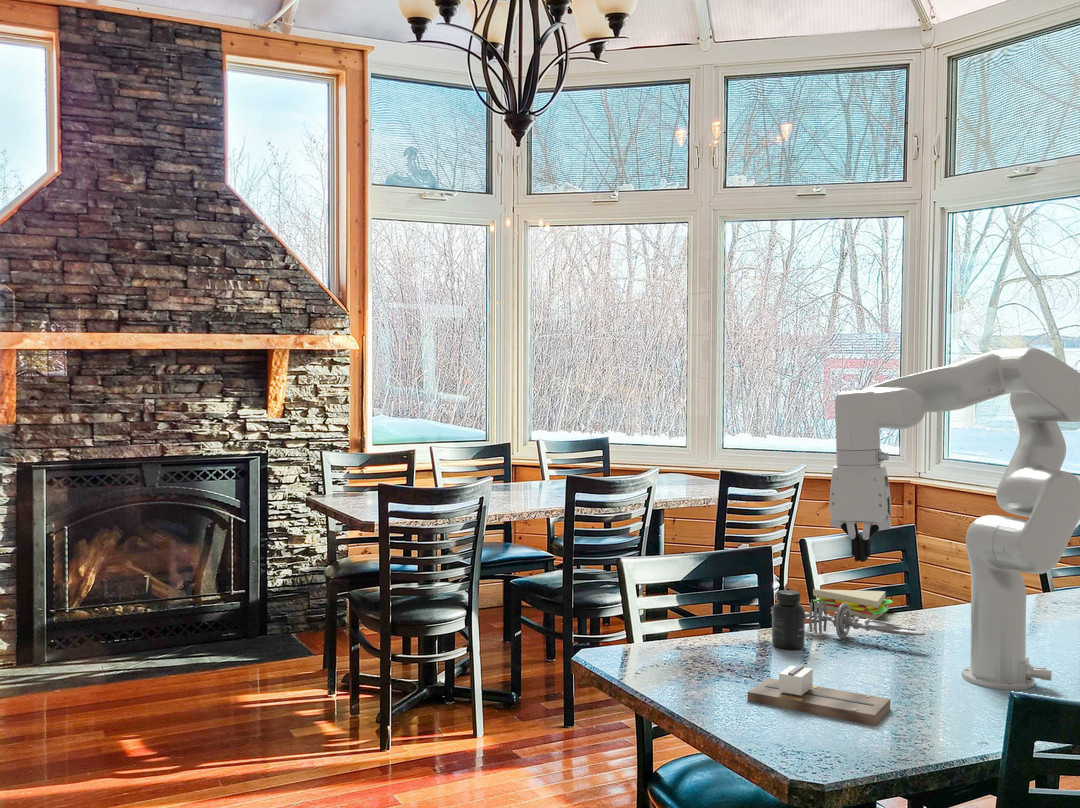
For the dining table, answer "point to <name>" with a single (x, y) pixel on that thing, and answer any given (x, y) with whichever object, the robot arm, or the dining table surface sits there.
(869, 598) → the sandwich
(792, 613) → the supplement bottle
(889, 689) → the dining table surface
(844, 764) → the dining table surface
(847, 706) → the fader track
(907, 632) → the spaceship
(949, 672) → the dining table surface
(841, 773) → the dining table surface
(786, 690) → the fader knob
